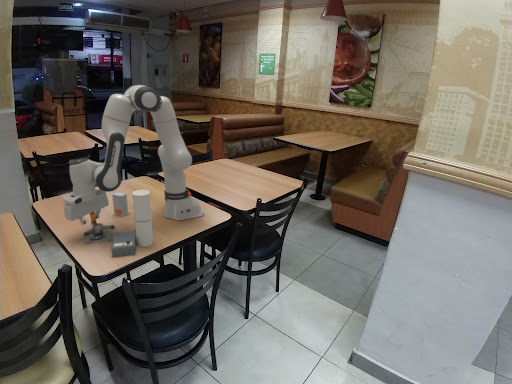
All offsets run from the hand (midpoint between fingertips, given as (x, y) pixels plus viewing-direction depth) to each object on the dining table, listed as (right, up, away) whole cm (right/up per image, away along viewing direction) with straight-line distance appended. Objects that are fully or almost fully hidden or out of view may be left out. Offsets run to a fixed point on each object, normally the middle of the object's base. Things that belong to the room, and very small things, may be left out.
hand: (90, 221), depth 143 cm
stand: (+12, -9, -5) cm, 16 cm away
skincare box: (+5, +1, +23) cm, 23 cm away
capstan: (+3, -6, 0) cm, 7 cm away
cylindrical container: (+27, -10, -3) cm, 29 cm away
